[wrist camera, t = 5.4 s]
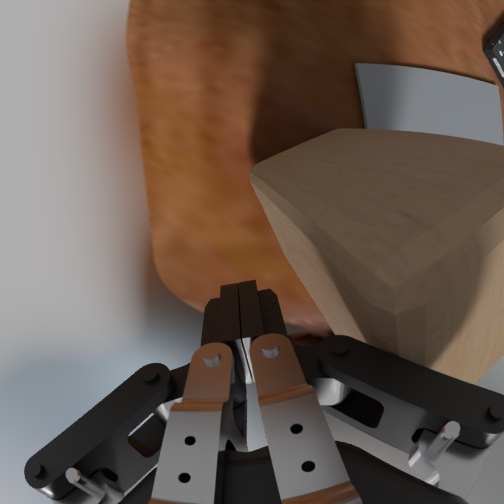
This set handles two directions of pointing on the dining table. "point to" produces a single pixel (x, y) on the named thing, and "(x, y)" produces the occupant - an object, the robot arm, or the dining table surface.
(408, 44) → the dining table surface
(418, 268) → the wooden block
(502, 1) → the dining table surface
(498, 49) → the disk drive
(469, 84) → the mat
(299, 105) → the dining table surface
